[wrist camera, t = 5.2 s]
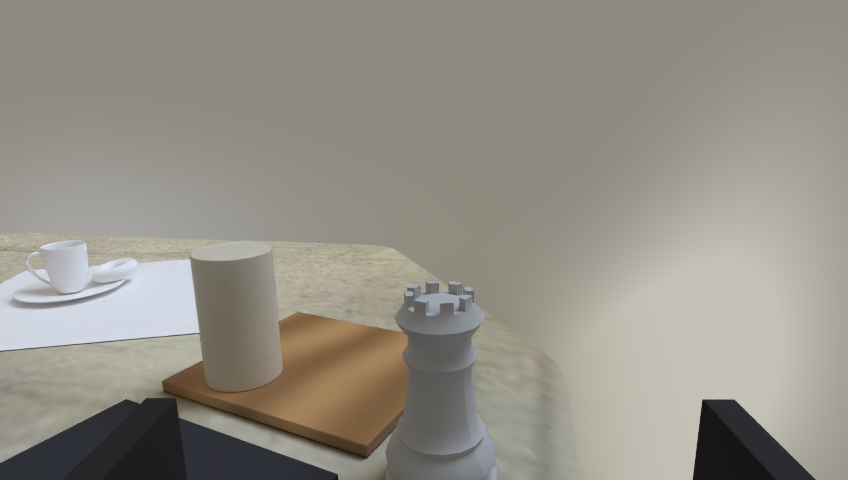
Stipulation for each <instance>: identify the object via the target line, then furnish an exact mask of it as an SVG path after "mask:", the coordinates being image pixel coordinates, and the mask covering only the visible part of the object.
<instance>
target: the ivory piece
mask: <svg viewBox="0 0 848 480" xmlns="http://www.w3.org/2000/svg"><path fill="white" fill-rule="evenodd" d="M190 263H191V271H192V278H193V286H194V294H195V302H196V310H197V318H198V326H199V334H200V342H201V350H202V357H203V365H204V373H205V381H206V383H207V385H208V386H209V387H210V388H212V389H214V390H217V391H222V392H241V391H247V390H252V389H256V388H259V387H262V386H264V385H266V384H268V383H270V382H272V381H274V380H275V379H276V378H277V377H278V376H279V375H280V374H281V372H282V369H283V365H282V353H281V342H280V331H279V319H278V308H277V296H276V285H275V274H274V262H273V251H272V246H271V245H270V244H268V243H265V242H259V241H231V242H223V243H217V244H212V245H207V246H204V247H201V248H198V249H196V250H194V251H192V252H191V253H190Z"/></svg>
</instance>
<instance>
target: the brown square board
mask: <svg viewBox="0 0 848 480" xmlns="http://www.w3.org/2000/svg"><path fill="white" fill-rule="evenodd" d="M279 331H280V342H281V353H282V365H283V369H282V372H281V374H280V375H279V376H278V377H277V378H276V379H275V380H274V381H272V382H270V383H268V384H266V385H264V386H262V387H259V388H256V389H252V390H247V391H241V392H222V391H217V390H214V389H212V388H210V387H209V386H208V385H207V383H206V381H205V373H204V365H203V360H202V361H200V362H199V363H197V364H195V365H193V366H191V367H189V368H187V369H185V370H183V371H181V372H179V373H177V374H175V375H173V376H171V377H169V378H167V379H165V380H163V381H162V383H163V390H164V391H167V392H170V393H173V394H176V395H179V396H182V397H185V398H188V399H191V400H194V401H197V402H200V403H203V404H206V405H209V406H212V407H215V408H218V409H221V410H224V411H227V412H230V413H233V414H237V415H240V416H243V417H246V418H249V419H252V420H255V421H258V422H261V423H264V424H267V425H270V426H273V427H276V428H279V429H282V430H285V431H288V432H291V433H294V434H297V435H300V436H304V437H307V438H310V439H313V440H316V441H319V442H322V443H325V444H328V445H331V446H334V447H337V448H340V449H343V450H346V451H349V452H352V453H355V454H358V455H361V456H364V457H368V456H369V455H370V454H371V452H372V451H373V450H374V449H375V448H376V447H377V446H378V445H379V444H380V443H381V442H382V441H383V440H384V439H385V438H386V437H387V436H388V435H389V434H390V433H391V432H392V431H393V429H394V428H395V427H396V426H397V424H398V421H399V419H400V417H402V416H403V413H404V408H405V400H406V392H407V383H408V365H407V364H406V363H405V362H404V360H403V357H402V353H403V352H404V350H405V348H406V347H407V346H408V337H407V335H406V334H405V333H402V332H397V331H392V330H387V329H382V328H377V327H372V326H367V325H361V324H356V323H351V322H346V321H341V320H336V319H331V318H326V317H321V316H316V315H311V314H305V313H300V312H297V313H295V314H293V315H291V316H289V317H287V318H285V319H283V320H281V321H279Z"/></svg>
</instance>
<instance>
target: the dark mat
mask: <svg viewBox="0 0 848 480" xmlns="http://www.w3.org/2000/svg"><path fill="white" fill-rule="evenodd" d="M139 405H140V404H138V403H136V402H133V401H130V400H127V399H126V400H124V401H122V402H120V403H118V404H116V405H114V406H112V407H110V408H108V409H106V410H104V411H102V412H100V413H98V414H96V415H94V416H92V417H90V418H88V419H86V420H84V421H82V422H80V423H78V424H76V425H74V426H73V427H71V428H69V429H67V430H65V431H63V432H61V433H59V434H57V435H55V436H53V437H51V438H49V439H47V440H45V441H43V442H41V443H39V444H37V445H35V446H33V447H31V448H29V449H27V450H25V451H23V452H21V453H19V454H17V455H15V456H14V457H12V458H10V459H8V460H6V461H4V462H2V463H0V480H63V479H64V478H65V477H66V476H67V475H68V474H69V473H70V472H71V471H72V470H73V469H74V468H75V467H76V466H77V465H78V464H79V463H80V462H81V461H82V460H83V459H84V458H85V457H86V456H87V455H89V454H90V453H91V452H92V451H93V450H94V449H95V448H96V447H97V446H98V445H99V444H100V443H101V442H102V441H103V440H104V439H105V438H106V437H107V436H108V435H109V434H110V433H111V432H112V431H113V430H114V429H115V428H116V427H117V426H118V425H119V424H120V423H121V422H122V421H123V420H124V419H125V418H127V417H128V416H129V415H130V414H131V413H132V412H133V411H134V410H135V409H136V408H137V407H138V406H139ZM179 424H180V431H181V438H182V445H183V452H184V459H185V466H186V474H187V480H338V475H337V474H335V473H332V472H329V471H327V470H324V469H321V468H318V467H315V466H313V465H310V464H307V463H304V462H301V461H299V460H296V459H293V458H290V457H287V456H285V455H282V454H279V453H276V452H273V451H270V450H268V449H265V448H262V447H259V446H256V445H254V444H251V443H248V442H245V441H242V440H240V439H237V438H234V437H231V436H228V435H226V434H223V433H220V432H217V431H214V430H212V429H209V428H206V427H203V426H200V425H197V424H195V423H192V422H189V421H186V420H183V419H181V418H179Z"/></svg>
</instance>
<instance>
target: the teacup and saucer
mask: <svg viewBox="0 0 848 480" xmlns="http://www.w3.org/2000/svg"><path fill="white" fill-rule="evenodd" d="M32 256H39V257H41V258H43V260H44V264H45V267H46V269H45V271H46V274H47V276H48V278H43V277H41V276H40V275H39V274H37V273H36V272H35V271H34V270H32V268H31V267H30V265H29V263H28V260H29V258H30V257H32ZM25 264H26V267H27V268H28V271H29V273H30V274H31V275H32V276H33V277H35V278H36V279H37V281H34V282H31V283H29V284H26V285H24V286H22V287H20V288H18V289H17V290H16V291H14V292H13V294H12V298H13V299H14V300H15V301H17V302H20V303H26V304H49V303H59V302H67V301H73V300H78V299H83V298H87V297H91V296H95V295H99V294H102V293H105V292H108V291H110V290H113V289H115V288H117V287H119V286H120V285H122V284H123V283H124V282H125V281H126V279H127V278H129V277H131V276H133V275H134V274H135V273H136V272H137V271H138V270H139V266H140V264H139V263H138V262H137V261H136V260H135V259H132V258H122V259H117V260H113V261H109V262H107V263H104V264H102V265H100V266H97V267H95V268H94V269H93V270H92V271H90V267H89V266H88V256H87V246H86V242H85V241H80V240H73V241H62V242H56V243H51V244H47V245H44V246H42V247H41V252H33V253H31V254H30V255H28V256H27V258H26V260H25Z"/></svg>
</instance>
